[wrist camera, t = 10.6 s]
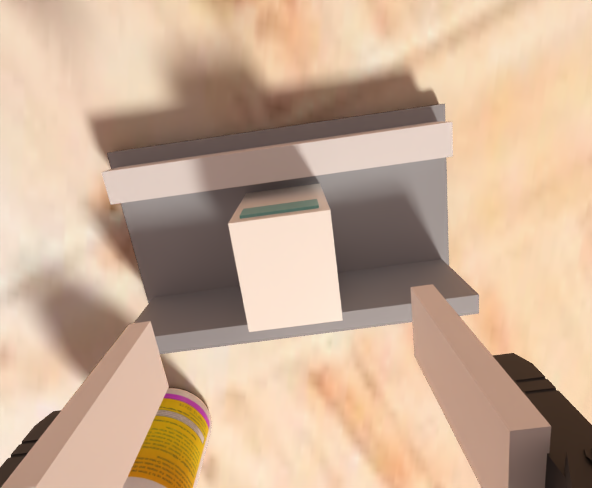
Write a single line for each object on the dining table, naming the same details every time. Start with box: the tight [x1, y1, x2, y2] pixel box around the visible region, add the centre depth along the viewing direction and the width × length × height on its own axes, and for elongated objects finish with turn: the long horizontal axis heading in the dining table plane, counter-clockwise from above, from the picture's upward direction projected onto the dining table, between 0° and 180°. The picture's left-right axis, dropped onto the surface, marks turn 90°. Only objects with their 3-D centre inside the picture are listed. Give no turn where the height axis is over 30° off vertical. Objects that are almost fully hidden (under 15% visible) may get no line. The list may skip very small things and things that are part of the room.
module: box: [228, 183, 343, 332], centre depth 24 cm, size 6×5×8 cm
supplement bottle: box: [123, 388, 212, 488], centre depth 28 cm, size 7×7×13 cm
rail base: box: [102, 104, 479, 354], centre depth 25 cm, size 12×22×7 cm, turn 98°
